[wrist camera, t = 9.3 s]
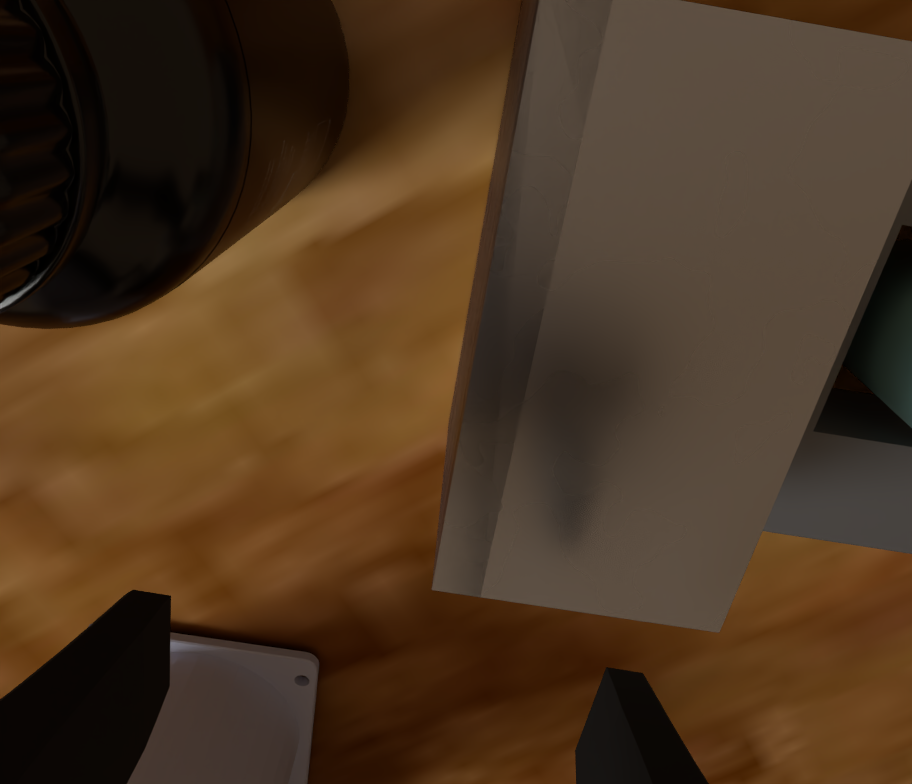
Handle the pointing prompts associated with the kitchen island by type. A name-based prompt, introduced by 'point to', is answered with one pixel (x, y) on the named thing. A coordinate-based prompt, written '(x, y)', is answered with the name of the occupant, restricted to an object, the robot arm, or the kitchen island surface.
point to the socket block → (852, 457)
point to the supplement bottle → (152, 141)
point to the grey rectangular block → (660, 296)
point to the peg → (888, 335)
